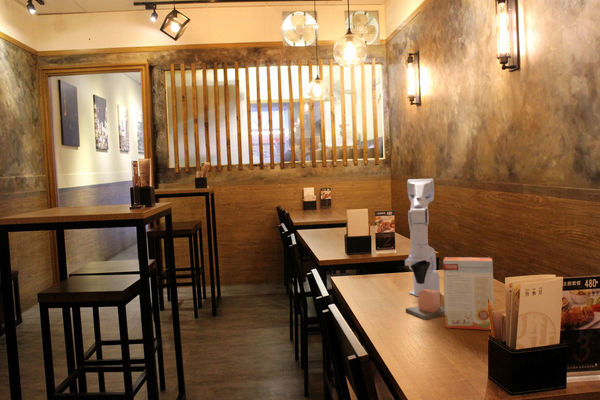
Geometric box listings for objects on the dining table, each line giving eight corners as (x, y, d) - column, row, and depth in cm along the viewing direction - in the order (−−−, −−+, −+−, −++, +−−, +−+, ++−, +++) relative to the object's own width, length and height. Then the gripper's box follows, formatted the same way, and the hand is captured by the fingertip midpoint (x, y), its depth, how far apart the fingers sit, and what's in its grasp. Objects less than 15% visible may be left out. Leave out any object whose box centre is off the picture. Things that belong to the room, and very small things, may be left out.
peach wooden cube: (425, 306, 164) (424, 288, 164) (439, 308, 161) (439, 290, 160) (418, 309, 160) (418, 292, 160) (433, 312, 157) (433, 294, 156)
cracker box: (493, 324, 146) (492, 256, 145) (494, 331, 140) (493, 260, 139) (445, 321, 151) (443, 256, 149) (444, 328, 145) (443, 259, 144)
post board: (433, 306, 168) (433, 290, 167) (453, 313, 158) (453, 296, 158) (405, 311, 163) (405, 295, 162) (424, 319, 153) (424, 302, 153)
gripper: (420, 239, 170) (421, 277, 171) (396, 245, 160) (398, 285, 161) (438, 241, 165) (439, 280, 166) (414, 247, 155) (416, 289, 156)
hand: (420, 283), depth 163 cm, fingers closed
